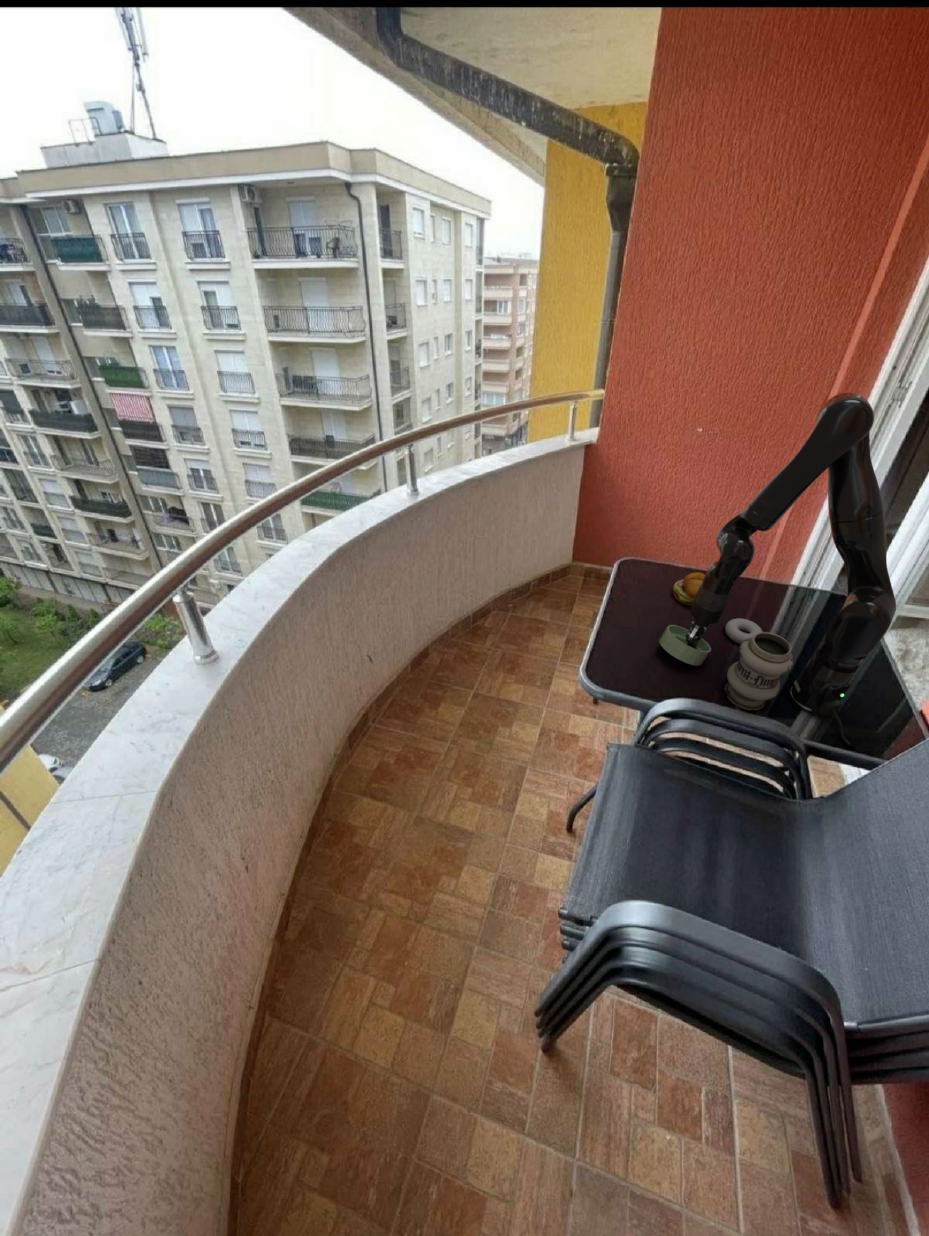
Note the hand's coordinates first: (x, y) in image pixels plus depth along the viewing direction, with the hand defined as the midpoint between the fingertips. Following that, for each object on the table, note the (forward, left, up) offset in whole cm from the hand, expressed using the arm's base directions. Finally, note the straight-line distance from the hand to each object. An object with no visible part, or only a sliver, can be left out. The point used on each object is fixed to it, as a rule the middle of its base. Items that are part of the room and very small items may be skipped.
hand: (689, 651), depth 148 cm
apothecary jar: (-17, -5, -2) cm, 17 cm away
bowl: (0, +3, 0) cm, 3 cm away
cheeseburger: (+21, -16, -2) cm, 27 cm away
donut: (+2, -20, -2) cm, 20 cm away
